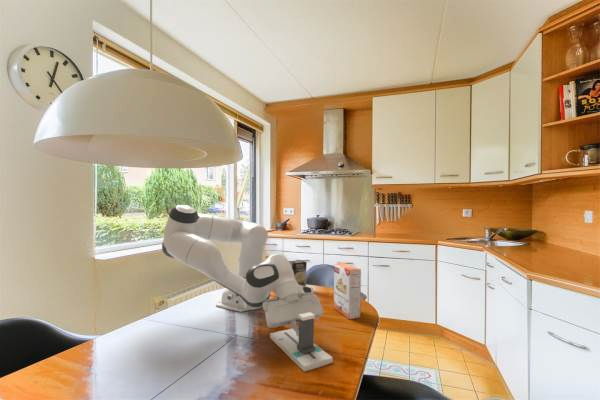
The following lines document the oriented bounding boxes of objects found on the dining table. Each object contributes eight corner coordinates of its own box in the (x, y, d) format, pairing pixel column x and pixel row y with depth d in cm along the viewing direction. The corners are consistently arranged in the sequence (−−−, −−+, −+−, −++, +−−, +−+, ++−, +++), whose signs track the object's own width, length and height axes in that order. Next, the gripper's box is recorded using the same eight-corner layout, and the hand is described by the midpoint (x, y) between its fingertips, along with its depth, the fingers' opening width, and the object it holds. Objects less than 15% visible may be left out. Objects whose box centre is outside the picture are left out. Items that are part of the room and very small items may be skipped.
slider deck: (269, 337, 103) (269, 333, 103) (294, 331, 108) (294, 327, 108) (304, 371, 82) (304, 366, 82) (332, 362, 87) (332, 357, 87)
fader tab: (296, 348, 92) (297, 313, 92) (308, 345, 94) (309, 311, 94) (303, 354, 88) (303, 318, 89) (315, 350, 91) (315, 315, 91)
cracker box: (332, 308, 133) (333, 263, 134) (344, 307, 135) (344, 262, 136) (348, 320, 120) (349, 269, 120) (361, 318, 122) (361, 268, 123)
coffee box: (292, 293, 156) (292, 263, 156) (286, 290, 162) (286, 261, 162) (306, 290, 161) (306, 261, 161) (300, 287, 166) (300, 259, 167)
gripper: (263, 295, 94) (275, 337, 86) (316, 287, 105) (332, 324, 96) (258, 304, 98) (269, 346, 90) (310, 296, 108) (324, 332, 100)
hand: (302, 334), depth 93 cm, fingers closed, pressing on fader tab
